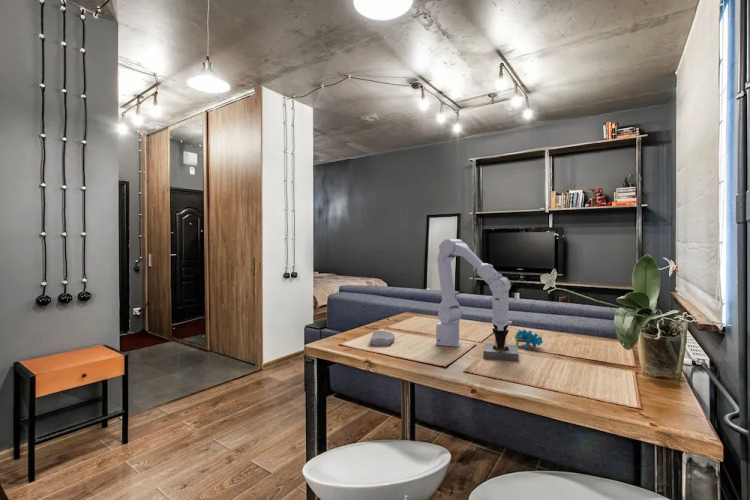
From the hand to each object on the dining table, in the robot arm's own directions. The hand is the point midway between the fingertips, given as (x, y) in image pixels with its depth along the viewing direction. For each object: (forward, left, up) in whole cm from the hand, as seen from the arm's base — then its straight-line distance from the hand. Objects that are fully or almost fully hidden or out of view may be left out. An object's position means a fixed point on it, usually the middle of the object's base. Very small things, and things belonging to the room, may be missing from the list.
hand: (500, 345), depth 136 cm
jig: (0, 0, -4) cm, 4 cm away
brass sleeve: (0, 0, -4) cm, 4 cm away
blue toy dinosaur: (+10, +14, -4) cm, 18 cm away
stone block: (-48, +3, -4) cm, 48 cm away
